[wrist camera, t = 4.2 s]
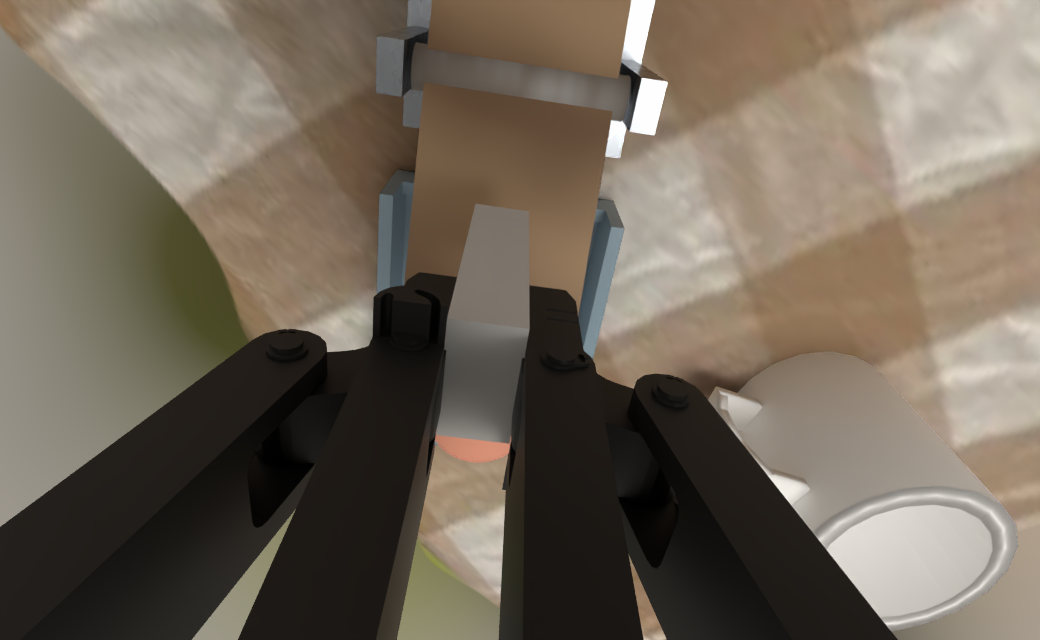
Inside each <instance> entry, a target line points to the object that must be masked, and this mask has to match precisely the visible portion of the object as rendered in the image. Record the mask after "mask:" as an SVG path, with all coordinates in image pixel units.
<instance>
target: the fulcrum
mask: <svg viewBox="0 0 1040 640" xmlns="http://www.w3.org/2000/svg"><path fill="white" fill-rule="evenodd" d="M654 3H655V0H631V6H630V12H629V18H628V24H627V30H626V36H625V42H624V48H623V54H622V60H621V66H620V72H619V74H620V75H626V76H630V78H631V87H630V95H629V100H628V105H627V109H626V112H625V115H624V118H623V120H622V121H621V122H619V121H613V120H611V125H610V131H609V137H608V143H607V149H606V154H605V156H606V157H613V158H620V154H621V150H622V145H623V141H624V137H625V132H626V128H627V129H628V130H629V131H630V132H635V133H642V134H648V135H655V131H656V127H657V123H658V119H659V115H660V111H661V107H662V103H663V99H664V95H665V91H666V87H667V83H668V82H667V81H666V80H664V79H663V78H661V77H659V76H658V75H656V74H655V73H653V72H652V71H650V70H649V69H647V68H646V67H644V66H643V65H641V61H642V57H643V52H644V48H645V43H646V39H647V34H648V30H649V26H650V21H651V17H652V12H653V8H654ZM431 5H432V0H408V15H407V27H406V28H403V29H399V30H396V31H392V32H389V33H385V34H382V35H379V36H377V55H376V93H379V94H386V95H392V96H399V97H402V96H403V95H404V106H403V126H406V127H412V128H420V117H421V107H422V97H423V91H417V90H413V89H412V85H411V64H412V55H413V50H414V46H415V43H416V42H417V43H423V44H428V36H429V25H430V15H431Z"/></svg>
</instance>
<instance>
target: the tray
mask: <svg viewBox="0 0 1040 640" xmlns="http://www.w3.org/2000/svg"><path fill="white" fill-rule="evenodd" d="M414 179H415V172H411V171H404V170H397V171H396V172H395V173H394V175H393V176H392V177H391V179H390V180H389V181H388V183H387V184H386V186H385V187H384V188H383V190H382V191H381V192H380V194H379V230H378V268H377V294H378V293H379V292H380V291H382V290H384V289H387V288H389V287H395V286H402V285H404V281H405V271H406V261H407V250H408V240H409V230H410V220H411V210H412V199H413V189H414ZM623 233H624V226H623V224H622V221H621V219H620V216H619V214H618V211H617V209H616V206H615V204H614V201H610V200H604V199H598V202H597V208H596V214H595V220H594V226H593V232H592V237H591V243H590V249H589V255H588V261H587V267H586V273H585V279H584V285H583V291H582V297H581V303H580V309H579V314H578V318H579V324H580V330H581V337H582V343H583V350H584V351H585V352H586V353H587V354H588V355H589V356H591V358H592V360H593V356H594V352H595V348H596V343H597V339H598V335H599V331H600V327H601V323H602V319H603V315H604V311H605V307H606V302H607V298H608V294H609V290H610V286H611V282H612V278H613V274H614V270H615V265H616V261H617V257H618V253H619V249H620V245H621V241H622V237H623ZM435 445H438V444H437V442H436V441H435Z"/></svg>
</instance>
